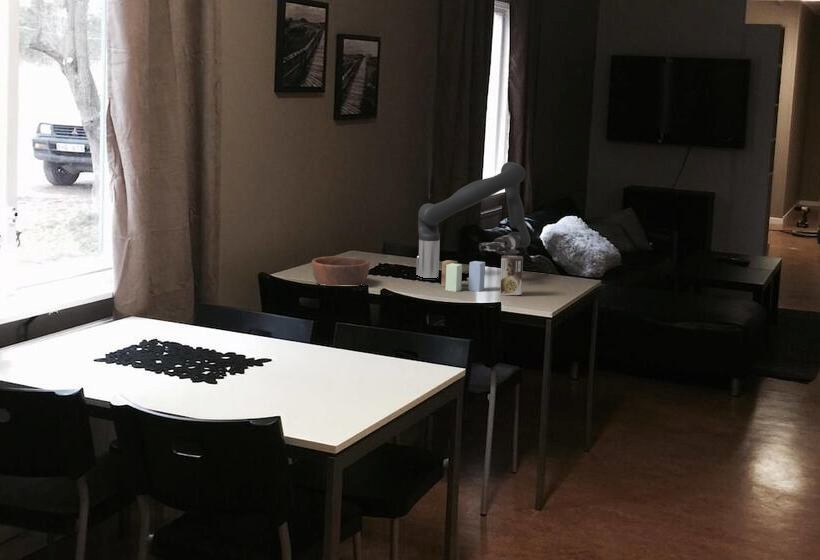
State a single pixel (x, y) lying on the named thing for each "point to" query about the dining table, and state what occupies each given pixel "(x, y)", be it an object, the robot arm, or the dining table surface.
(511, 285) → the coffee box
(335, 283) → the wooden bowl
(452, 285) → the sage block
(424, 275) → the robot arm
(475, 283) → the slate block
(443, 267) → the walnut block
